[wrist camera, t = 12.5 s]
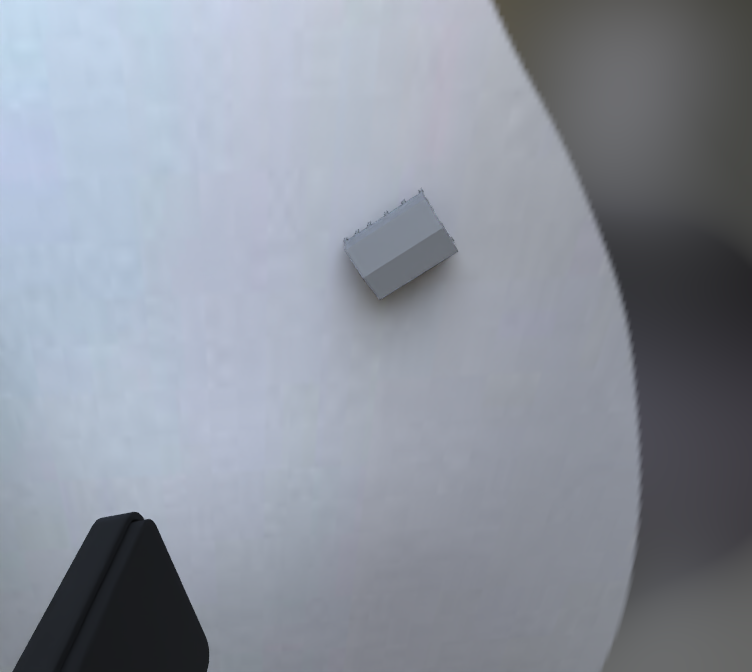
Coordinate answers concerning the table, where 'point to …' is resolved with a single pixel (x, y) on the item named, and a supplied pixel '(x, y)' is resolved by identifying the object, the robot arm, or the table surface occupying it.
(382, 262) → the integrated circuit
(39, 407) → the table surface
